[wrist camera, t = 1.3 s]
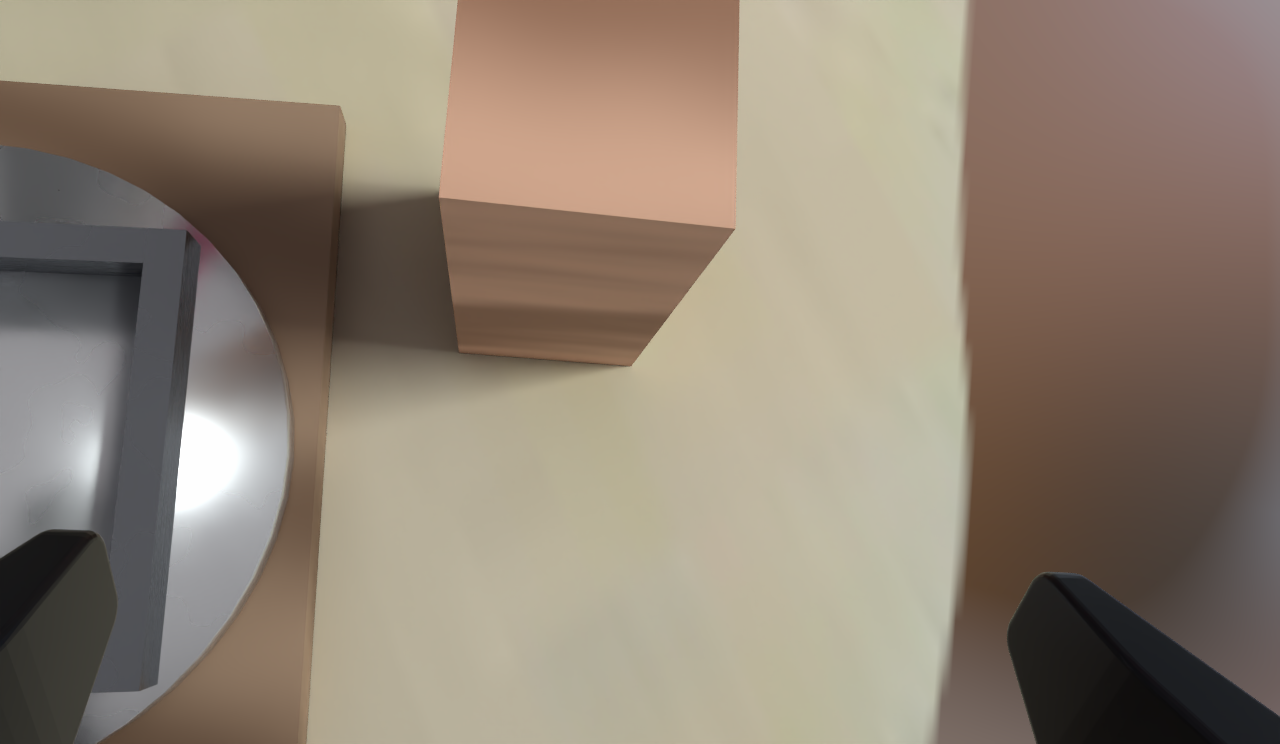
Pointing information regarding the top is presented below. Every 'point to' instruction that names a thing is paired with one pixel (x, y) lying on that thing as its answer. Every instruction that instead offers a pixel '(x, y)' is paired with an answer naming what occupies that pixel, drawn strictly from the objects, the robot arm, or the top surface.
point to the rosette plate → (136, 415)
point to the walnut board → (296, 312)
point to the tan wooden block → (585, 170)
